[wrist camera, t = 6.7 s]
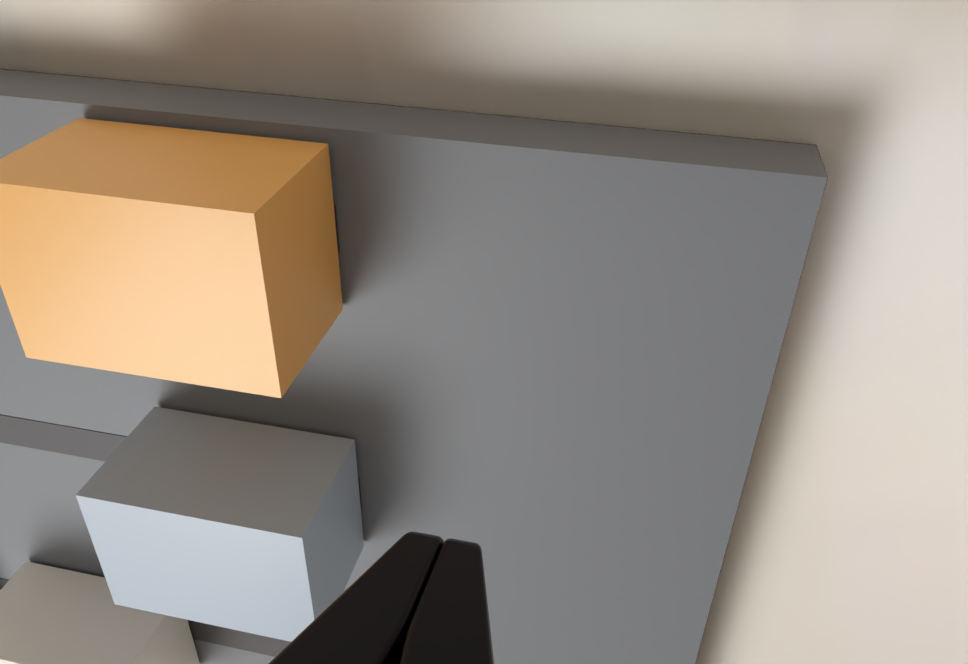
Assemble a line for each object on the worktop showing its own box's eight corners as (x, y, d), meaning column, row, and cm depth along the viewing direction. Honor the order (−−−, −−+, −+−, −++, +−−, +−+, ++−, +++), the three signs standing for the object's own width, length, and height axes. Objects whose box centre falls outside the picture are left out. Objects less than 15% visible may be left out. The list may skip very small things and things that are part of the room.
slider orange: (328, 143, 15) (254, 214, 12) (343, 309, 16) (281, 397, 14) (79, 117, 15) (-38, 179, 13) (121, 278, 17) (26, 357, 15)
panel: (816, 145, 14) (837, 208, 12) (667, 722, 24) (664, 815, 22) (-222, 48, 18) (-351, 83, 16) (18, 584, 28) (-39, 652, 26)
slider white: (179, 593, 23) (118, 686, 21) (201, 666, 25) (147, 760, 23) (25, 561, 24) (-50, 647, 22) (57, 634, 26) (-9, 721, 24)
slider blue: (354, 439, 18) (302, 538, 16) (364, 545, 20) (318, 647, 18) (154, 406, 19) (75, 495, 17) (181, 511, 21) (114, 604, 19)
